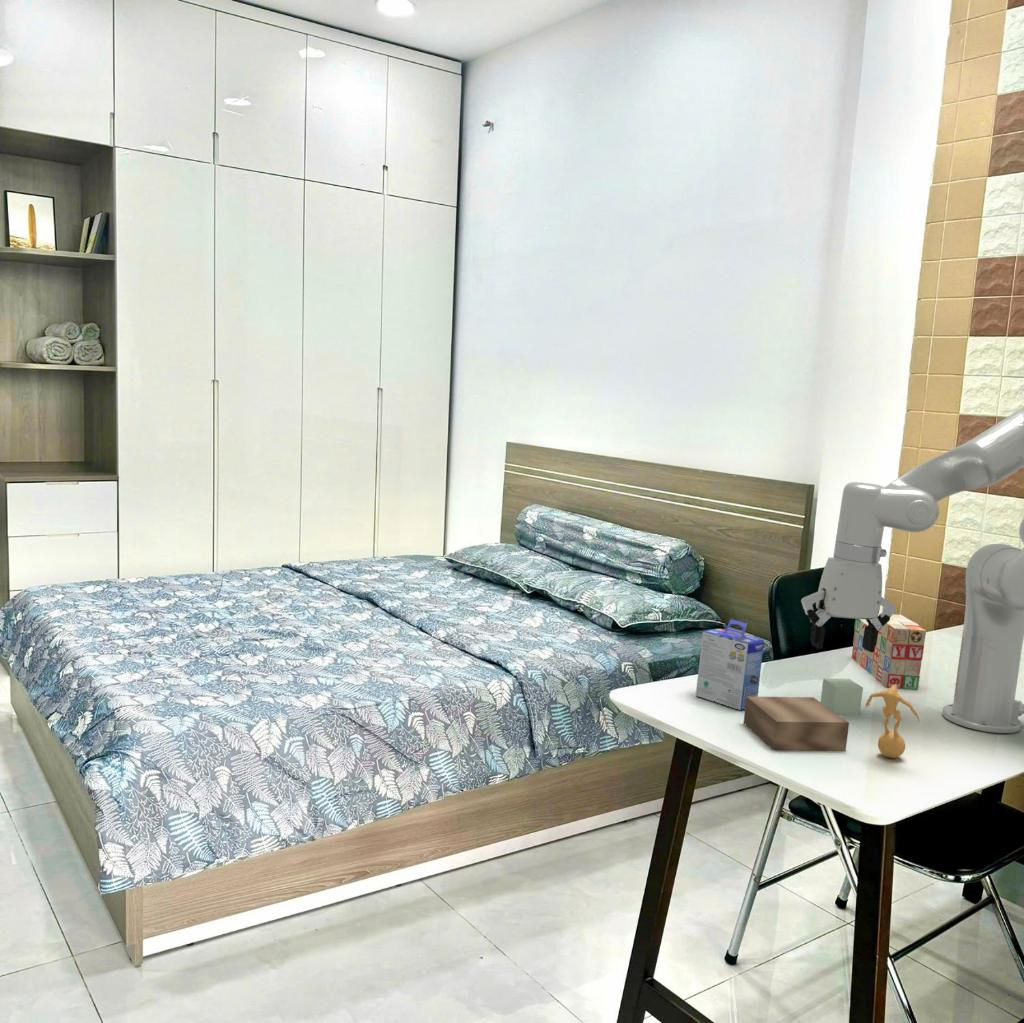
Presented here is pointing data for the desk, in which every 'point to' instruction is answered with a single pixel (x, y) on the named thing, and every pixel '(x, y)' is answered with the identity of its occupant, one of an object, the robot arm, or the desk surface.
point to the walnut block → (795, 724)
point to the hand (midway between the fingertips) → (842, 648)
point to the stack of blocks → (892, 652)
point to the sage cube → (842, 696)
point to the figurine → (889, 741)
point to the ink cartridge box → (729, 666)
